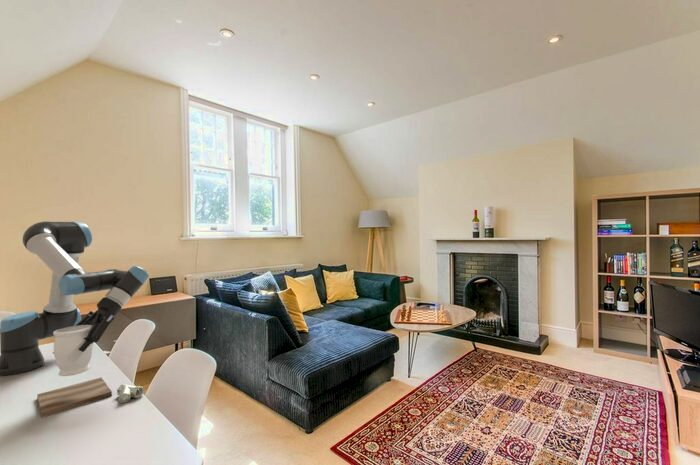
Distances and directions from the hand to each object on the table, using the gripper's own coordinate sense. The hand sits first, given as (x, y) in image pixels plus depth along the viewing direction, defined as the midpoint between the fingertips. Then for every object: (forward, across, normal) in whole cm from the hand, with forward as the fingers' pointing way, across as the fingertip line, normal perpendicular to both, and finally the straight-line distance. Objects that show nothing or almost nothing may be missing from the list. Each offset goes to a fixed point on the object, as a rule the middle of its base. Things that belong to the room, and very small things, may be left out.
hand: (63, 357), depth 113 cm
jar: (+2, 0, -6) cm, 7 cm away
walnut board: (+8, 0, -13) cm, 15 cm away
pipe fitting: (+3, -17, -18) cm, 25 cm away
